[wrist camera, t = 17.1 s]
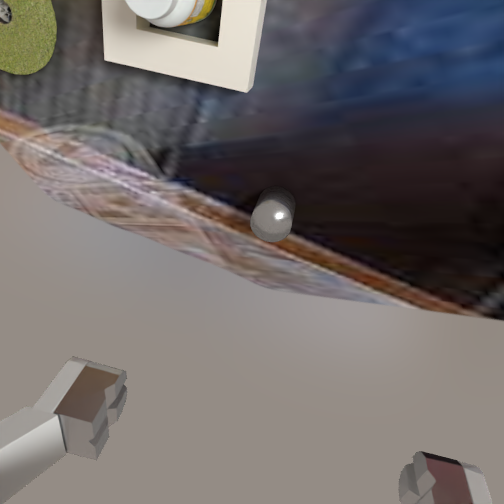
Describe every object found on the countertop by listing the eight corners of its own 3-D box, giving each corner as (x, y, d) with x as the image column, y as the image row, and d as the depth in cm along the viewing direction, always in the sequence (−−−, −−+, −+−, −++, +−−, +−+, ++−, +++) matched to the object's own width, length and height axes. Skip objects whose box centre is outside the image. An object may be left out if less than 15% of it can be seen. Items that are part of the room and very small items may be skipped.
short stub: (299, 191, 44) (295, 211, 40) (290, 224, 46) (286, 246, 42) (262, 182, 44) (254, 201, 40) (255, 215, 46) (247, 236, 42)
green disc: (-30, -94, 34) (-48, -98, 33) (82, -7, 37) (70, -7, 35) (-48, 25, 41) (-63, 26, 39) (49, 93, 43) (38, 97, 41)
